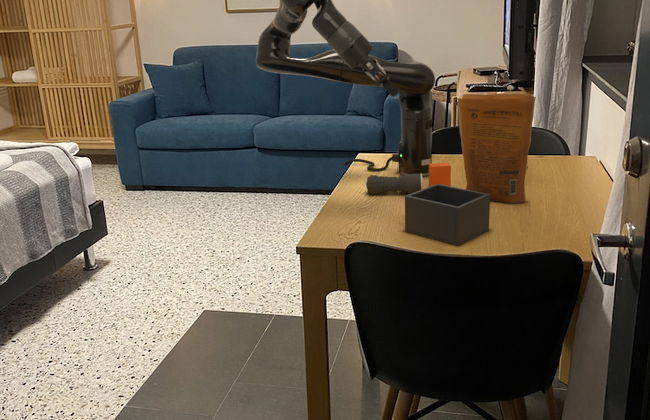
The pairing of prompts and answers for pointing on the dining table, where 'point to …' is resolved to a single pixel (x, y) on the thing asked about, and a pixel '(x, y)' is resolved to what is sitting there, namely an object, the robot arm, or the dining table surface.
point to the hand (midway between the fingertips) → (395, 92)
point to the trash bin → (447, 213)
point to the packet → (440, 174)
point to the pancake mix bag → (496, 143)
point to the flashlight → (394, 184)
